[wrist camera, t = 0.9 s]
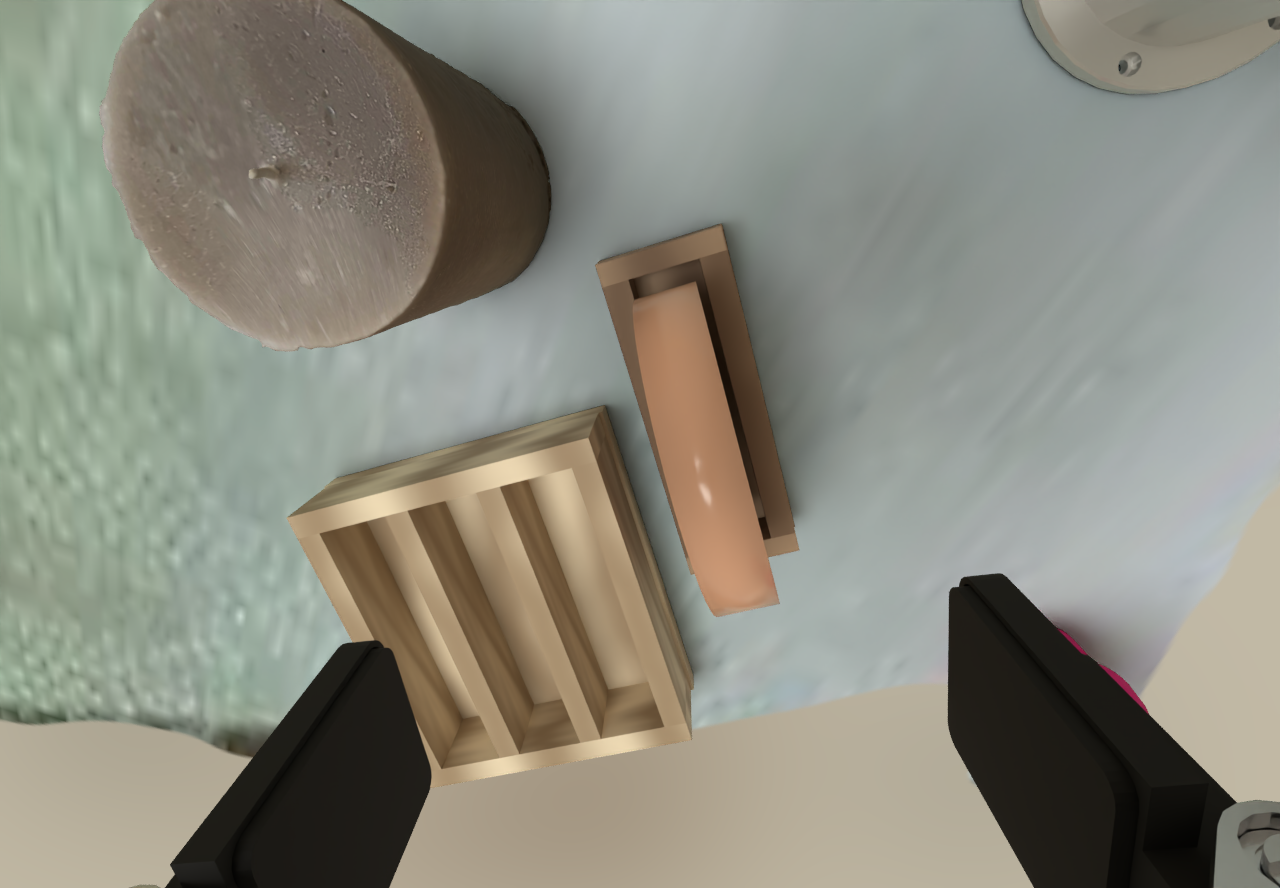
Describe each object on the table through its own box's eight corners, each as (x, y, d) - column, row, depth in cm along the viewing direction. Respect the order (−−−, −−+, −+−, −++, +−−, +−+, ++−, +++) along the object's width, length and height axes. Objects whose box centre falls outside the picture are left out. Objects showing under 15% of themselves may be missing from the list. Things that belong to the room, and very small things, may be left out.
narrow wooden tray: (720, 223, 30) (725, 224, 26) (791, 518, 35) (803, 549, 31) (600, 261, 30) (590, 266, 27) (686, 543, 35) (687, 575, 32)
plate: (692, 268, 29) (702, 306, 17) (755, 510, 33) (799, 680, 21) (643, 282, 30) (618, 330, 18) (711, 520, 34) (730, 693, 22)
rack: (604, 404, 33) (592, 436, 28) (693, 675, 39) (695, 739, 34) (335, 478, 35) (283, 518, 31) (456, 723, 41) (427, 788, 36)
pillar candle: (553, 83, 28) (417, -55, 14) (550, 304, 31) (439, 375, 17) (340, 71, 28) (0, -73, 14) (360, 291, 32) (100, 349, 18)
